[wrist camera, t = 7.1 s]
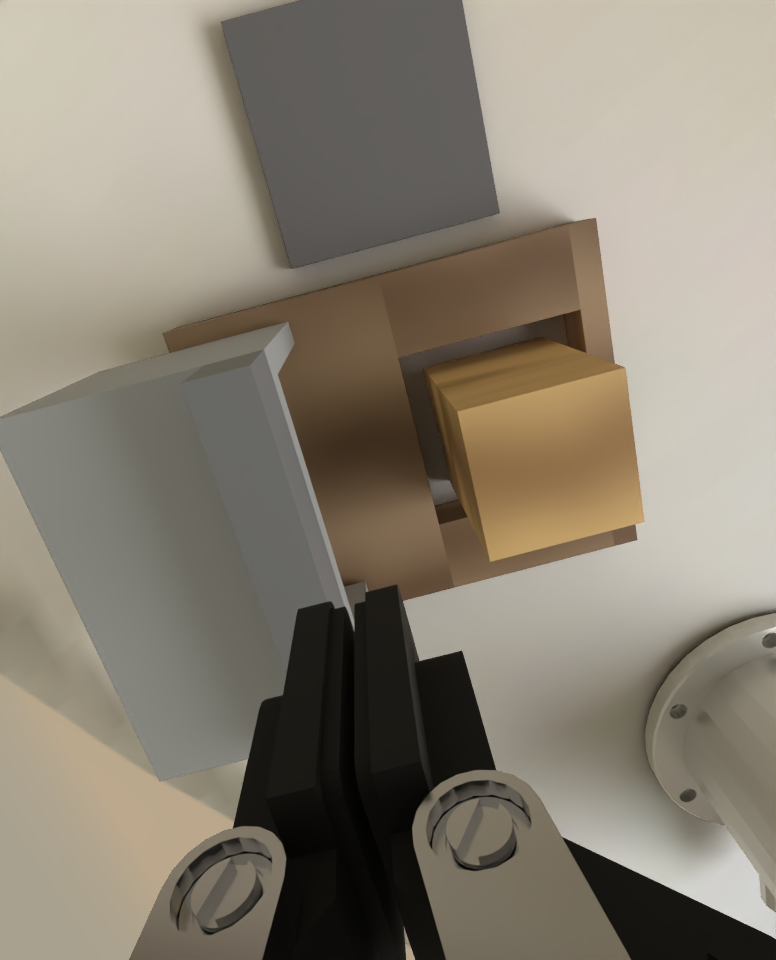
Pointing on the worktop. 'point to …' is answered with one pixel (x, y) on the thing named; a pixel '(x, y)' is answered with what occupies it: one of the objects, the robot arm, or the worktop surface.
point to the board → (384, 402)
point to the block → (537, 444)
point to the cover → (182, 535)
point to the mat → (363, 120)
